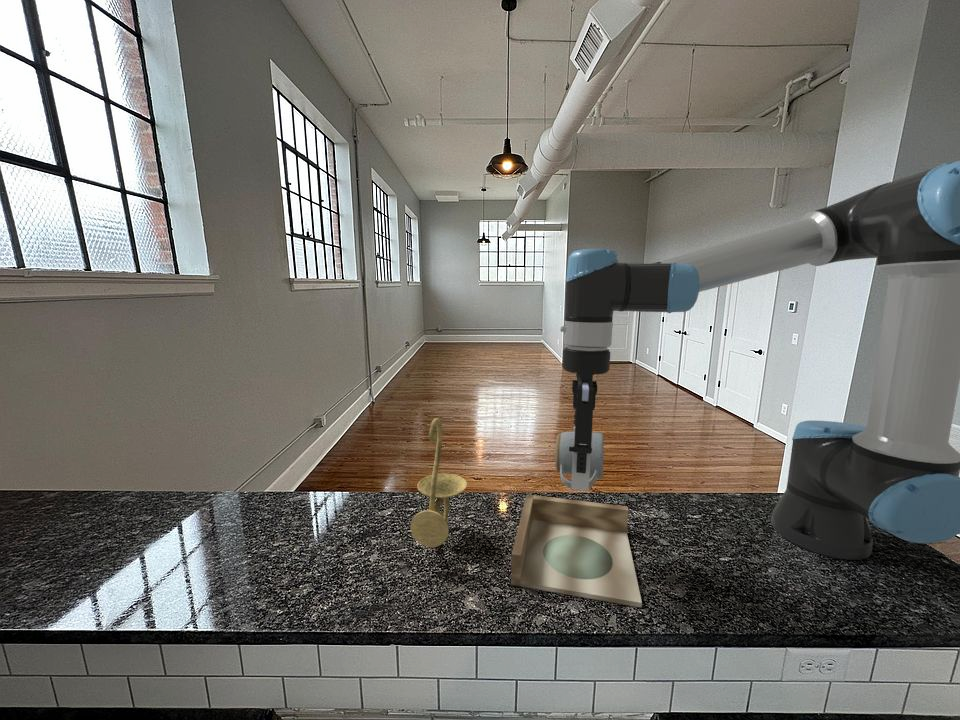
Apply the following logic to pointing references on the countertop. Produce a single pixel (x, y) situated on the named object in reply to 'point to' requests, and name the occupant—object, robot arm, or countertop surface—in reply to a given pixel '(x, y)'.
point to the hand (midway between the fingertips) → (579, 474)
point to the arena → (575, 550)
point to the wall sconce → (430, 523)
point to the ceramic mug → (565, 456)
